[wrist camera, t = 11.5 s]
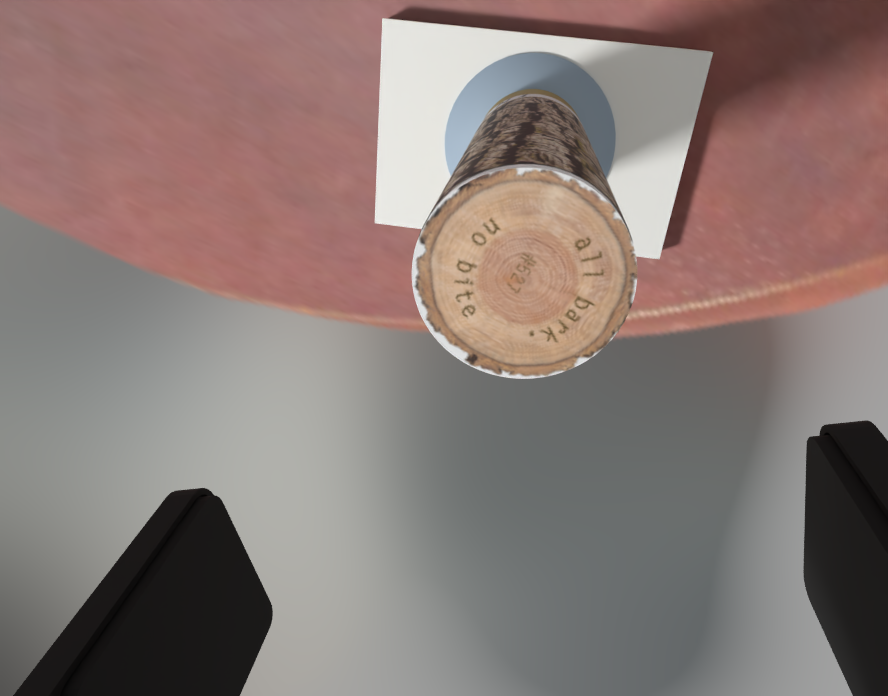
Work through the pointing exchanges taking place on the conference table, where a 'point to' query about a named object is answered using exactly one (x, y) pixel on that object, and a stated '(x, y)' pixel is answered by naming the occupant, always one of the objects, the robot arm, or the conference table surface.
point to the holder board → (534, 67)
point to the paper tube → (525, 246)
